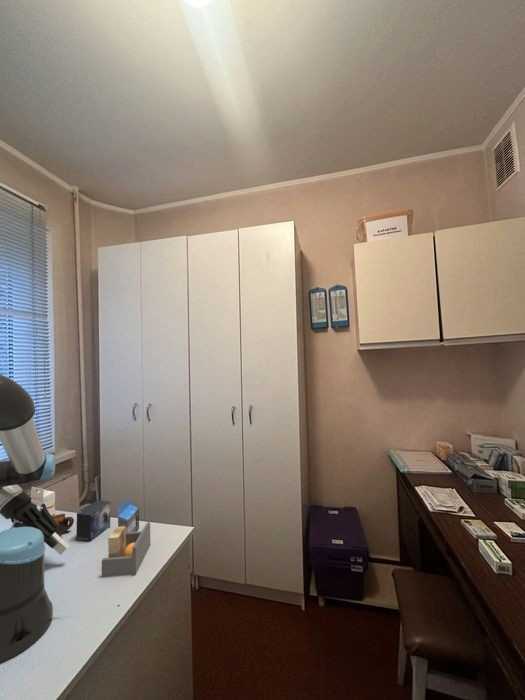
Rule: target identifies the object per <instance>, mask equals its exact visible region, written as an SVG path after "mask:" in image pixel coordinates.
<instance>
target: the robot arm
mask: <svg viewBox="0 0 525 700" xmlns="http://www.w3.org/2000/svg"><path fill="white" fill-rule="evenodd" d="M35 413H36V406H35V403H34V400H33V397H32V396H31V395H30V394H29V392H28V391H27V390H26V389H25V388H24V387H23V386H21V385H20V384H19V383H17V382H16V381H14V380H13V379H11V378H9V377H7V376H6V375H3V374H1V373H0V443H1V445H2V447H3V450H4V451H5V454H6V455H7V457H8V459H9V460H8V459H7V460H2V461H1V460H0V515H1V516H2V517H3V518H4V519H5V520H9V519H10V520H11V523H12V525H11V527H9V529H4V530H2V531H1V532H0V663H3V662H5V661H8V660H10V659H12V658H14V657H17V655H19V654H21V653H22V652H24V651H26V650H27V649H28V648H30V647H31V646H32V645H34V644H35V643H36V642H38V640H39V639H40V638H41V637H42V636H43V635H44V634H45V633H46V631H48V628H49V627H50V626H51V624H52V621H53V616H54V613H53V611H54V609H53V608H54V607H53V603H52V602H51V600H50V598H49V595H48V593H47V591H46V589H45V552H46V545H47V546H48V547H50V548H51V549H54V551H55V552H57V553H58V554H59V555H60V556H61V555H62V554H63V553H64V552H65V551H66V550H67V549H68V548H69V547H70V544H69V543H68V542H67V541H66V540H64V539H63V536H60V535H59V534H58V533H57V532H56V531H57V530H58V528H57V527H58V524H57V523H56V522H55V520H54V519H53V517H52V516H51V515H50V513H49V512H48V510H47V509H46V505H45V504H42V505H41V506H37V505H36V504H34V503H32V502H31V499H32V498H31V495H29V494H28V493H27V492H26V491H23V488H22V487H20V486H19V485H22V484H26V483H27V484H28V483H33V482H40V481H43V480H47V479H51V478H53V477H54V475H55V473H56V472H55V471H56V456H55V455H54V454H51V453H50V454H49V453H48V454H47V453H44V450H43V447H42V443H41V441H40V437H39V434H38V431H37V426H36V425H35V421H34V416H35ZM45 544H46V545H45Z"/></svg>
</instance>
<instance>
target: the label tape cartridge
mask: <svg viewBox="0 0 525 700" xmlns="http://www.w3.org/2000/svg"><path fill="white" fill-rule="evenodd" d="M125 526H126V532H138V531H139V529H140V508H139V507H137V506H135V505H133V504H131V498H130V497H129V498H128V499H126V501H124V502H123V503H122V504H121V505H120V506H119V507H118V508H117V527H125Z"/></svg>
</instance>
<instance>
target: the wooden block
mask: <svg viewBox="0 0 525 700" xmlns="http://www.w3.org/2000/svg"><path fill="white" fill-rule="evenodd" d="M107 540H108V543H107V544H108V546H107V547H108V558H111V557H123V556H124V551H125V549H126V526H125V527H118V526H117V527H115V528H114V530H113V531H112V532H111V534H110V535H109V536H108V539H107Z"/></svg>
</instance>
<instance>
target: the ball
mask: <svg viewBox="0 0 525 700" xmlns="http://www.w3.org/2000/svg"><path fill="white" fill-rule="evenodd" d="M134 544H135V543H131V544H129V545H128V546H127V547H126V549H125V551H124V556H132V547H133V546H134Z"/></svg>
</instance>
